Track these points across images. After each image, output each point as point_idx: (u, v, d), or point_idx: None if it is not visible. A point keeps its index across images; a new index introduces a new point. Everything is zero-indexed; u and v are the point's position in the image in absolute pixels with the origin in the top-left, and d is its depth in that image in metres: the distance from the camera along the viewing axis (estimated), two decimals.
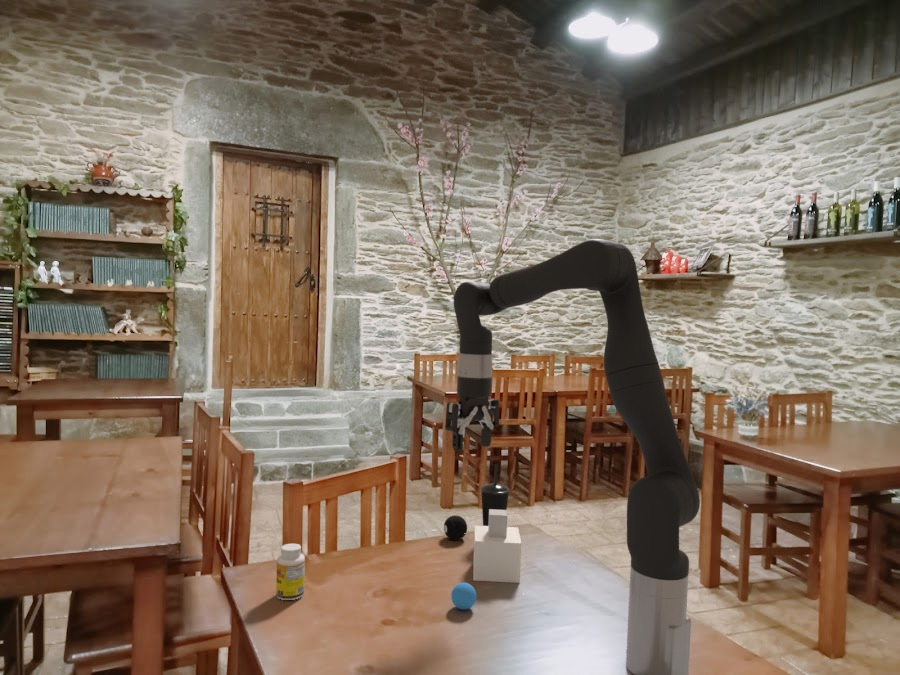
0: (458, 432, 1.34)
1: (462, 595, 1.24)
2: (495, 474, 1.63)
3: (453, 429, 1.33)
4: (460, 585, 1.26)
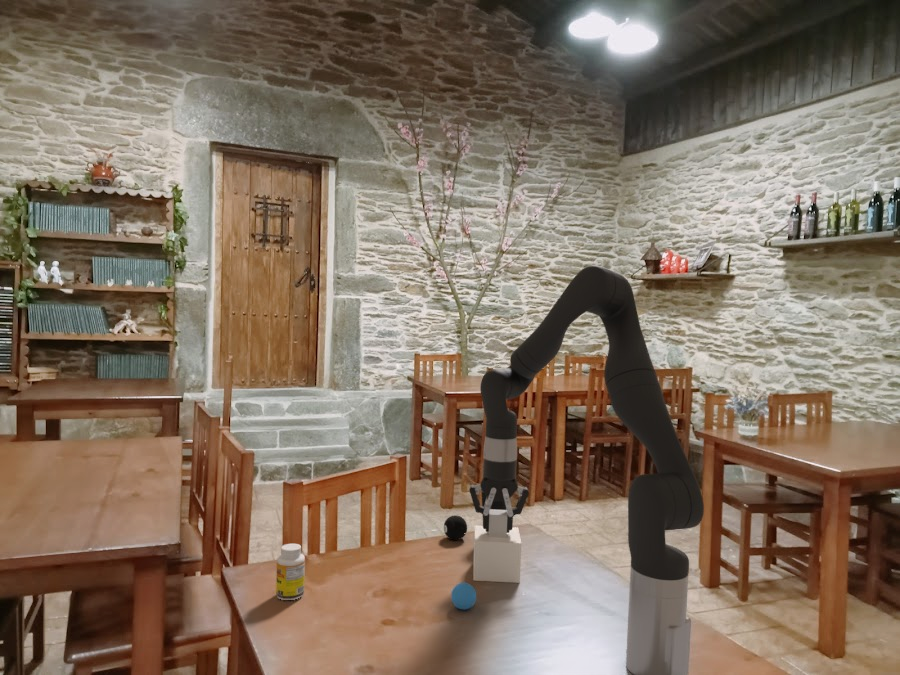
0: None
1: (462, 595, 1.24)
2: None
3: None
4: (460, 585, 1.26)
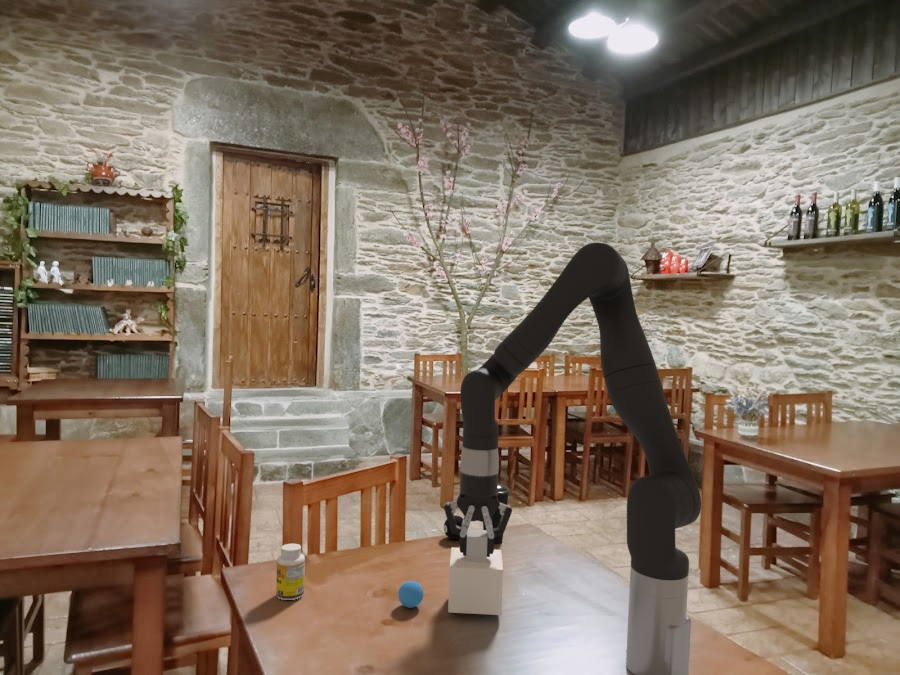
0: None
1: (415, 601, 1.24)
2: None
3: None
4: None
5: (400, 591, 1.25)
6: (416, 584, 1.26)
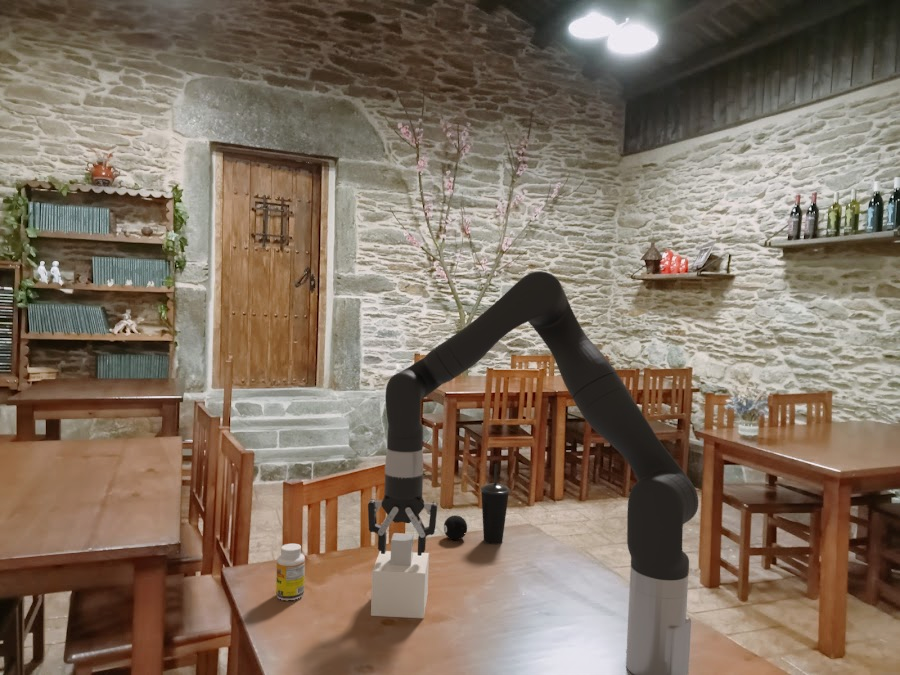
0: None
1: None
2: (495, 474, 1.63)
3: None
4: None
5: None
6: None
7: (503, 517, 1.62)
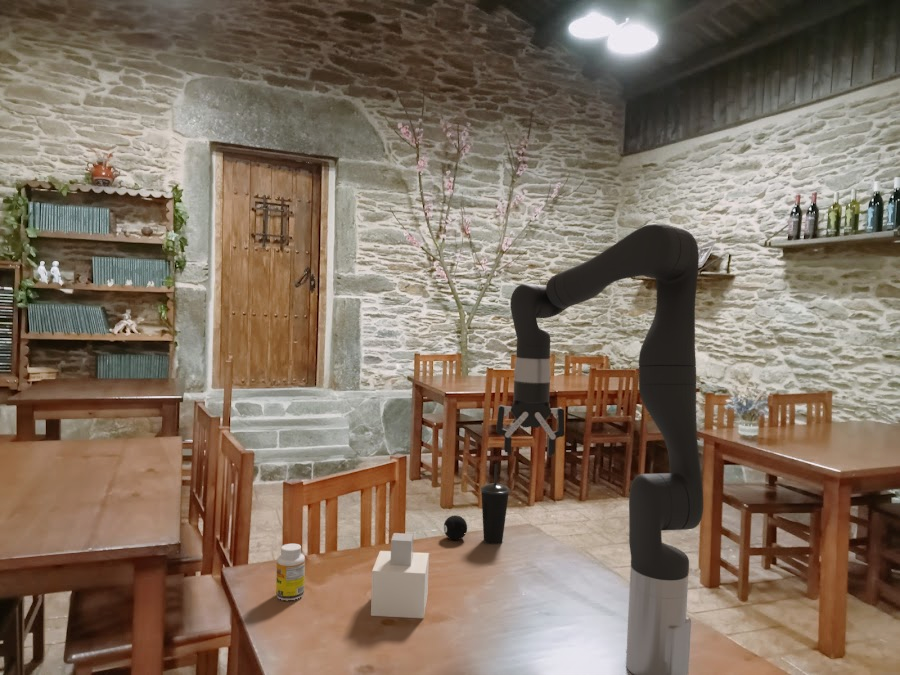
0: None
1: None
2: (495, 474, 1.63)
3: None
4: None
5: None
6: None
7: (503, 517, 1.62)
